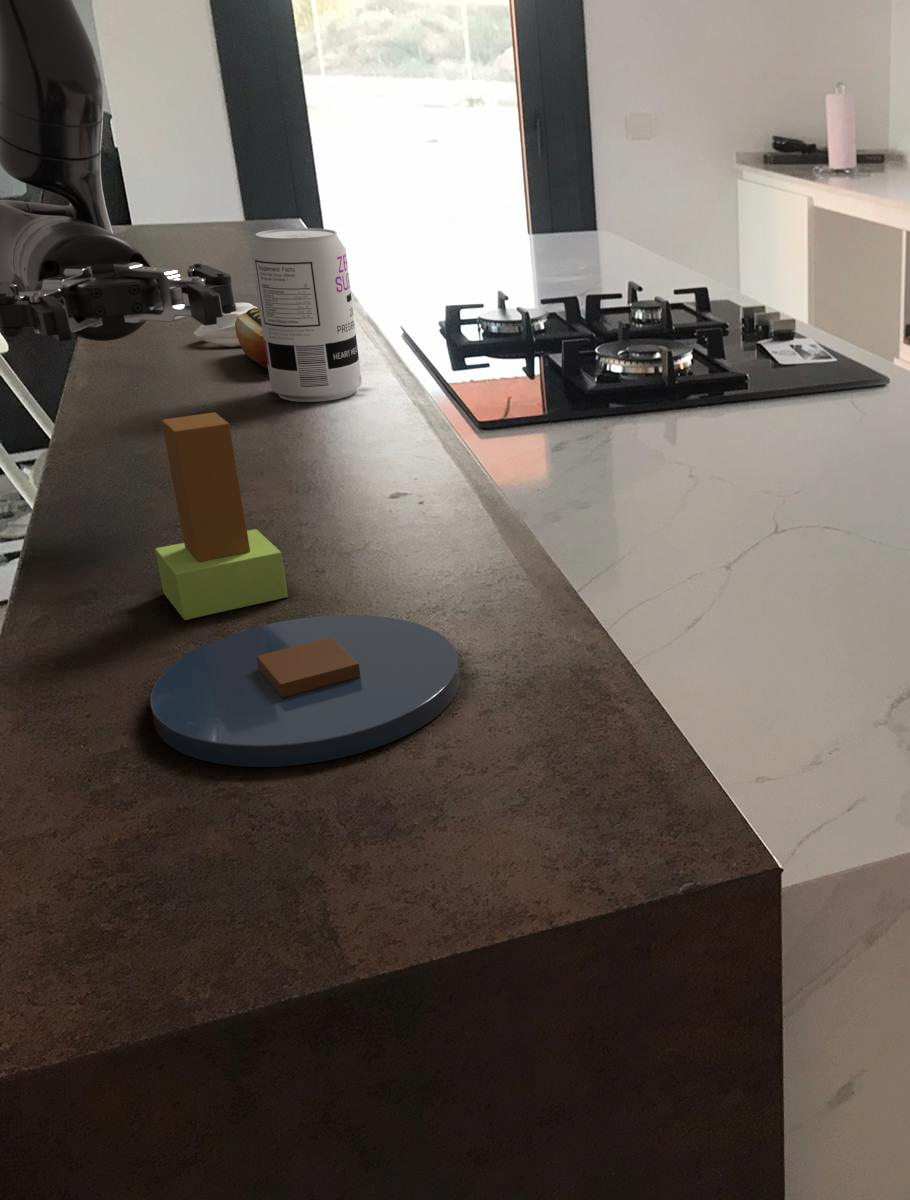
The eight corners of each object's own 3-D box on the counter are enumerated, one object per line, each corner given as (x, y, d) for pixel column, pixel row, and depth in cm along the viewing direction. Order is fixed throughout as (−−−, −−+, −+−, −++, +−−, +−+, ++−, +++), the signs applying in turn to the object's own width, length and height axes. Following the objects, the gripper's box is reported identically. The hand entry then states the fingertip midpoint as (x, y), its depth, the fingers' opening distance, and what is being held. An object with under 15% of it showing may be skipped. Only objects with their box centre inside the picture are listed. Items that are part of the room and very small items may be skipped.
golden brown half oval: (258, 379, 128) (250, 329, 126) (232, 353, 138) (225, 307, 136) (309, 374, 131) (302, 325, 129) (281, 349, 141) (274, 303, 139)
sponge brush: (184, 620, 75) (149, 439, 71) (163, 593, 79) (128, 419, 74) (288, 597, 78) (261, 423, 74) (263, 572, 82) (236, 404, 78)
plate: (199, 802, 57) (194, 779, 57) (123, 678, 68) (119, 658, 68) (507, 709, 66) (506, 688, 65) (396, 612, 77) (394, 594, 76)
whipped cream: (194, 357, 141) (182, 313, 138) (203, 338, 146) (191, 296, 144) (270, 349, 142) (260, 306, 140) (276, 331, 148) (266, 289, 145)
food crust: (282, 698, 64) (279, 684, 64) (257, 669, 67) (255, 655, 66) (361, 677, 66) (359, 663, 66) (334, 649, 69) (332, 636, 69)
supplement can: (260, 390, 124) (235, 231, 118) (343, 379, 129) (323, 225, 123) (290, 408, 118) (266, 241, 112) (376, 395, 123) (357, 234, 117)
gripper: (-42, 232, 87) (-6, 266, 75) (181, 217, 95) (246, 246, 83) (-15, 342, 90) (24, 391, 78) (199, 319, 98) (264, 360, 86)
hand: (138, 316), depth 81 cm, fingers open, 8 cm apart
